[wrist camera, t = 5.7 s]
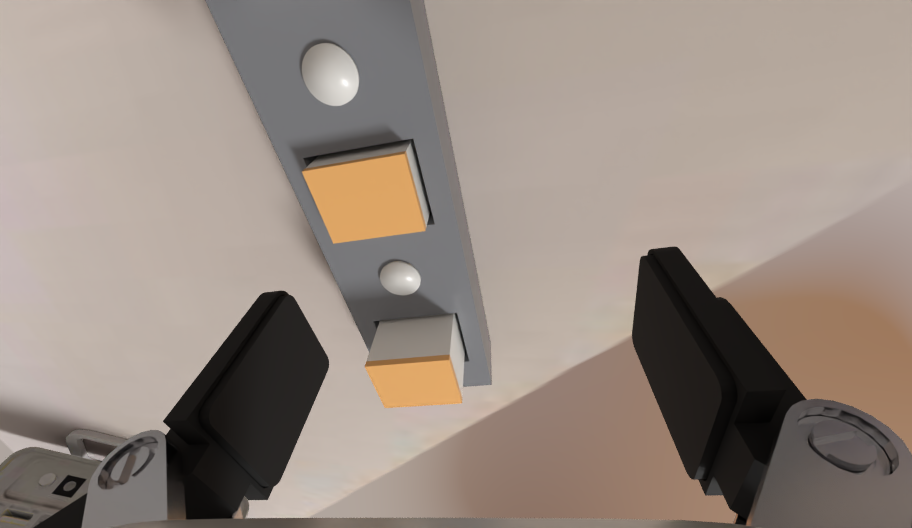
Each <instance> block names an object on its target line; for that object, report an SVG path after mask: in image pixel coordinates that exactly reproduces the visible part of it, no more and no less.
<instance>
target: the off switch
mask: <svg viewBox="0 0 912 528" xmlns="http://www.w3.org/2000/svg"><path fill="white" fill-rule="evenodd" d="M464 357H465V346H464V342H463V338H462V334H461V330H460V326H459V323H458V319H457V315H456V313H450V314H440V315H430V316H420V317H410V318H400V319H391V320H381V321H380V322H379V325H378V328H377V331H376V334H375V337H374V340H373V343H372V346H371V349H370V352H369V355H368V358H367V361H366V364H365V368H366V370H367V372H368V374H369V377H370V379H371V381H372V383H373V385H374V387H375V389H376V391H377V393H378V395H379V397H380V399H381V401H382V403H383V405H384V407H385V408H393V407H409V406H425V405H442V404H458V403H462V393H463V375H464Z"/></svg>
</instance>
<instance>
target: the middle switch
mask: <svg viewBox="0 0 912 528" xmlns="http://www.w3.org/2000/svg"><path fill="white" fill-rule="evenodd" d="M302 173H303V176H304V178H305V180H306V183H307V185H308V187H309V189H310V192H311V194H312V196H313V198H314V201H315V203H316V205H317V208H318V210H319V212H320V214H321V217H322V219H323V221H324V223H325V226H326V228H327V230H328V233H329V235H330V237H331V239H332V242H333V244H335V243H342V242H349V241H357V240H364V239H371V238H379V237H386V236H393V235H400V234H408V233H415V232H422V231H425V230H426V227H427V223H428V219H429V215H430V211H431V207H430V203H429V199H428V195H427V191H426V187H425V183H424V179H423V175H422V171H421V167H420V163H419V159H418V155H417V151H416V148H415V144H414V140H413V139H407V140H401V141H396V142H390V143H385V144H379V145H373V146H368V147H362V148H357V149H351V150H345V151H340V152H334V153H329V154H323V155H319V156H318V157H317V158H316V159H315V160H314V161H313V162H312V163H310V164H309V165H308V166H307V167H306V168H305V169H304V170H303V171H302Z"/></svg>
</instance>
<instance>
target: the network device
mask: <svg viewBox="0 0 912 528" xmlns="http://www.w3.org/2000/svg"><path fill="white" fill-rule="evenodd" d="M82 439H87V440H91V441H95V442H100V443H104V444H108V445H112V446H116V447H118V446H119V445H120V444H122V443H123V442H125V441H126V440H127V439H123V438H119V437H115V436H111V435H107V434H103V433H99V432H95V431H90V430H83V429H80V430H74V431H72V432H71V433H70V434H69V435H68V436H67V437H66V443H67V446H68V448H69V451H70V453H71V455H69V454H65V453H60V452H56V451H52V450H48V449H43V448H39V447H29V448H25V449H22V450H19V451H17V452H15V453H13V454H12V455H10V456H9V457H8V458H7V459H6V460H5V461H4V462H3V463H2V464H1V465H0V528H33V527H35V526H36V525H38V524H40V523H41V522H43V521H44V520H46V519H47V518H49V517H50V516H52V515H54V514H55V513H57V512H58V511H60V510H61V509H63V508H64V507H66V506H68V505H69V504H71V503H72V502H74V501H75V500H77V499H78V498H80V497H81V496H83V495H85V494H86V493H88V487H89V483H90V480H91V477H92V475H93V473H94V472H95V470H96V469H97V467H98V466H99V464H100V463H101V462H102V461H98V460H95V459H93V458H91V457H90V456H88V454H87V452H86V449H85V446H84V443H83V440H82ZM240 506H241V511H242V517H243V519H244V518H247V515H248V510H249V502H248V500H247V499H246V497H244V498H243V500H242V502H241V504H240Z"/></svg>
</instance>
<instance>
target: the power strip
mask: <svg viewBox="0 0 912 528" xmlns="http://www.w3.org/2000/svg"><path fill="white" fill-rule="evenodd" d="M205 1H206V3H207V5H208V7H209V9H210V12H211V14H212V16H213V18H214V20H215V22H216V24H217V27H218V29H219V31H220V33H221V35H222V37H223V39H224V42H225V44H226V46H227V48H228V50H229V52H230V54H231V57H232V59H233V61H234V63H235V65H236V67H237V69H238V72H239V74H240V76H241V78H242V80H243V82H244V84H245V87H246V89H247V91H248V93H249V95H250V97H251V100H252V102H253V104H254V106H255V108H256V110H257V112H258V115H259V117H260V119H261V121H262V123H263V125H264V127H265V130H266V132H267V134H268V136H269V138H270V140H271V142H272V145H273V147H274V149H275V151H276V153H277V155H278V157H279V160H280V162H281V164H282V166H283V168H284V170H285V172H286V175H287V177H288V179H289V181H290V183H291V185H292V188H293V190H294V192H295V194H296V196H297V198H298V200H299V203H300V205H301V207H302V209H303V211H304V213H305V215H306V218H307V220H308V222H309V224H310V226H311V228H312V230H313V233H314V235H315V237H316V239H317V241H318V243H319V245H320V248H321V250H322V252H323V254H324V256H325V258H326V260H327V263H328V265H329V267H330V269H331V271H332V273H333V276H334V278H335V280H336V282H337V284H338V286H339V288H340V291H341V293H342V295H343V297H344V299H345V301H346V303H347V306H348V308H349V310H350V312H351V314H352V316H353V318H354V321H355V323H356V325H357V327H358V329H359V331H360V333H361V336H362V338H363V340H364V342H365V344H366V346H367V348H368V351H369V352H370V349H371V346H372V343H373V340H374V337H375V334H376V331H377V328H378V325H379V322H380V321H381V320H391V319H400V318H410V317H420V316H430V315H440V314H450V313H456V315H457V319H458V323H459V326H460V330H461V334H462V338H463V342H464V346H465V357H464V375H463V387H466V386H480V385H492V375H491V342H490V337H489V332H488V327H487V321H486V316H485V311H484V306H483V301H482V296H481V291H480V286H479V281H478V276H477V270H476V265H475V260H474V255H473V250H472V245H471V240H470V235H469V230H468V225H467V219H466V214H465V209H464V204H463V199H462V194H461V189H460V184H459V179H458V173H457V168H456V163H455V158H454V153H453V148H452V143H451V138H450V133H449V128H448V122H447V117H446V112H445V107H444V102H443V97H442V92H441V87H440V82H439V77H438V71H437V66H436V61H435V56H434V51H433V46H432V41H431V36H430V31H429V25H428V20H427V15H426V10H425V5H424V0H205ZM407 139H413V140H414V144H415V148H416V151H417V155H418V159H419V163H420V167H421V171H422V175H423V179H424V183H425V187H426V191H427V195H428V199H429V203H430V207H431V211H430V215H429V219H428V223H427V227H426V230H425V231H422V232H415V233H408V234H400V235H393V236H386V237H379V238H371V239H364V240H357V241H349V242H342V243H335V244H333V242H332V239H331V237H330V235H329V233H328V230H327V228H326V226H325V223H324V221H323V219H322V217H321V214H320V212H319V210H318V208H317V205H316V203H315V201H314V198H313V196H312V194H311V192H310V189H309V187H308V185H307V183H306V180H305V178H304V176H303V173H302V171H303V170H304V169H305V168H306V167H307V166H308V165H309V164H310V163H312V162H313V161H314V160H315V159H316V158H317V157H318V156H319V155H323V154H329V153H334V152H340V151H345V150H351V149H357V148H362V147H368V146H373V145H379V144H385V143H390V142H396V141H401V140H407Z"/></svg>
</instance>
